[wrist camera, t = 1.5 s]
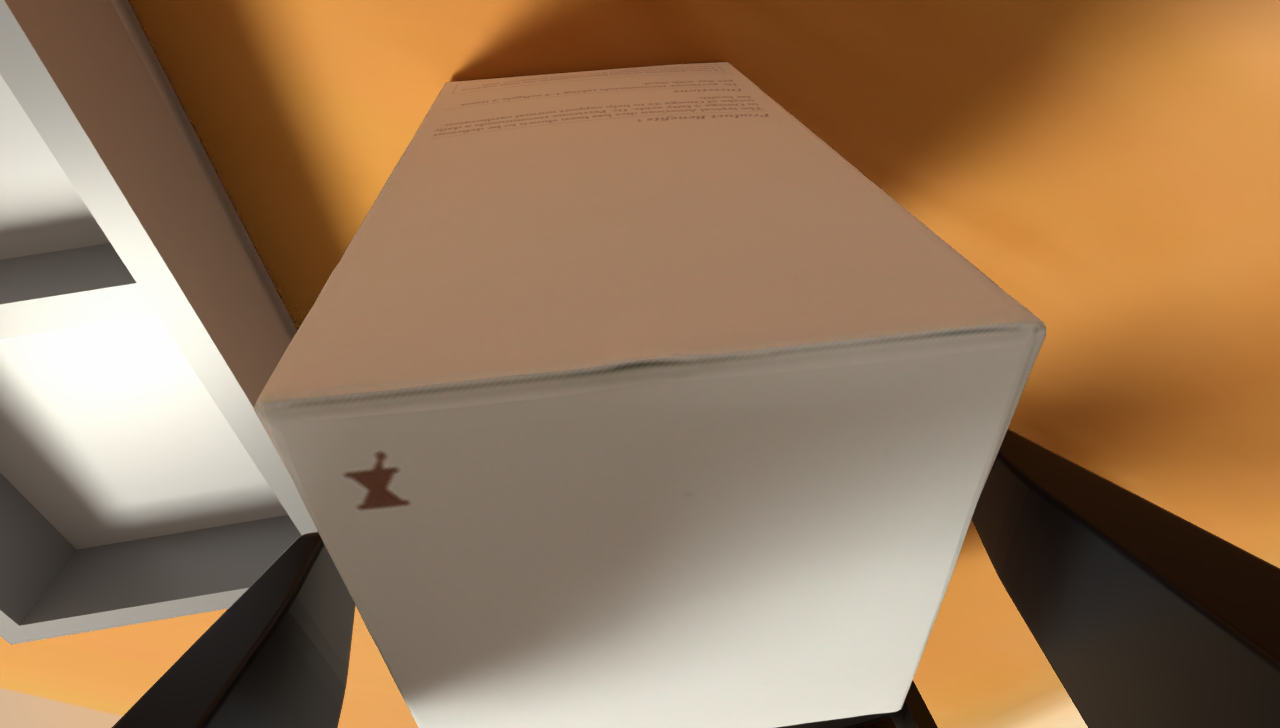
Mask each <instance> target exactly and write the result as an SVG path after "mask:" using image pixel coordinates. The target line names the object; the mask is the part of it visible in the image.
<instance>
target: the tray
mask: <svg viewBox="0 0 1280 728" xmlns="http://www.w3.org/2000/svg"><path fill="white" fill-rule="evenodd" d="M296 333H297V329H296V327H295V325H294V323H293V321H292V319H291V317H290V315H289V313H288V311H287V309H286V307H285V306H284V304H283V302H282V300H281V298H280V296H279V294H278V292H277V290H276V288H275V286H274V284H273V282H272V280H271V278H270V276H269V274H268V272H267V270H266V269H265V267H264V265H263V263H262V261H261V259H260V257H259V255H258V253H257V251H256V249H255V247H254V245H253V243H252V241H251V239H250V237H249V235H248V233H247V231H246V230H245V228H244V226H243V224H242V222H241V220H240V218H239V216H238V214H237V212H236V210H235V208H234V206H233V204H232V202H231V200H230V198H229V196H228V194H227V193H226V191H225V189H224V187H223V185H222V183H221V181H220V179H219V177H218V175H217V173H216V171H215V169H214V167H213V165H212V163H211V161H210V159H209V157H208V155H207V154H206V152H205V150H204V148H203V146H202V144H201V142H200V140H199V138H198V136H197V134H196V132H195V130H194V128H193V126H192V124H191V122H190V120H189V118H188V116H187V115H186V113H185V111H184V109H183V107H182V105H181V103H180V101H179V99H178V97H177V95H176V93H175V91H174V89H173V87H172V85H171V83H170V81H169V79H168V78H167V76H166V74H165V72H164V70H163V68H162V66H161V64H160V62H159V60H158V58H157V56H156V54H155V52H154V50H153V48H152V46H151V44H150V42H149V40H148V39H147V37H146V35H145V33H144V31H143V29H142V27H141V25H140V23H139V21H138V19H137V17H136V15H135V13H134V11H133V9H132V7H131V5H130V3H129V1H128V0H0V636H1V637H2V638H3V639H5V640H6V641H7V642H8V643H10V644H17V643H23V642H29V641H35V640H41V639H47V638H53V637H59V636H65V635H71V634H77V633H83V632H89V631H95V630H101V629H107V628H113V627H119V626H125V625H131V624H137V623H143V622H149V621H155V620H161V619H167V618H173V617H179V616H185V615H191V614H197V613H203V612H209V611H215V610H221V609H227V608H230V607H231V605H232V604H233V603H234V602H235V601H236V600H237V599H238V598H239V597H240V596H241V595H242V594H243V593H244V592H245V591H246V590H247V589H248V588H249V587H250V586H251V585H252V584H253V583H254V582H255V581H256V580H257V579H258V578H259V577H260V576H261V575H262V574H263V573H264V572H265V571H266V570H267V569H268V568H269V567H270V566H271V565H272V564H273V563H274V562H275V561H276V560H277V559H278V558H279V556H280V555H281V554H282V553H283V552H284V551H285V550H286V549H287V548H288V547H289V546H290V545H291V544H292V543H293V542H294V541H295V540H296V539H297V538H299V537H300V536H301V535H304V534H307V533H313V532H318V530H317V528H316V527H315V525H314V523H313V521H312V519H311V517H310V515H309V513H308V511H307V509H306V507H305V505H304V503H303V501H302V499H301V497H300V495H299V492H298V490H297V488H296V486H295V483H294V481H293V480H292V478H291V476H290V474H289V472H288V470H287V469H286V467H285V465H284V463H283V461H282V460H281V458H280V456H279V454H278V452H277V450H276V449H275V447H274V445H273V443H272V441H271V440H270V438H269V436H268V434H267V432H266V431H265V429H264V427H263V425H262V423H261V422H260V420H259V418H258V416H257V414H256V413H255V411H254V406H255V404H256V401H257V399H258V397H259V396H260V394H261V392H262V391H263V389H264V387H265V385H266V384H267V382H268V380H269V378H270V377H271V375H272V373H273V372H274V370H275V368H276V366H277V365H278V363H279V361H280V360H281V358H282V356H283V354H284V353H285V351H286V349H287V348H288V346H289V344H290V343H291V341H292V339H293V338H294V336H295V334H296Z"/></svg>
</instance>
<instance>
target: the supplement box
mask: <svg viewBox="0 0 1280 728" xmlns="http://www.w3.org/2000/svg"><path fill="white" fill-rule="evenodd" d="M1045 336H1046V326H1045V324H1044V322H1042V321H1041V320H1040V319H1039V318H1038V317H1036V316H1035V315H1034V314H1033V313H1032V312H1030V311H1029V310H1028V309H1027V308H1025V307H1024V306H1023V305H1021V304H1020V303H1019V302H1018V301H1016V300H1015V299H1014V298H1012V297H1011V296H1010V295H1009V294H1007V293H1006V292H1005V291H1004V290H1002V289H1001V288H1000V287H999V286H998V285H997V284H995V283H994V282H993V281H992V280H991V279H989V278H988V277H987V276H986V275H985V274H984V273H982V272H981V271H980V270H979V269H978V268H976V267H975V266H974V265H973V264H971V263H970V262H969V261H968V260H967V259H965V258H964V257H963V256H962V255H961V254H959V253H958V252H957V251H956V250H954V249H953V248H952V247H951V246H950V245H948V244H947V243H946V242H945V241H943V240H942V239H941V238H940V237H939V236H937V235H936V234H935V233H934V232H933V231H931V230H930V229H929V228H928V227H926V226H925V225H924V224H923V223H922V222H920V221H919V220H918V219H917V218H916V217H914V216H913V215H912V214H911V213H910V212H908V211H907V210H906V209H905V208H903V207H902V206H901V205H900V204H899V203H897V202H896V201H895V200H894V199H893V198H891V197H890V196H889V195H888V194H887V193H885V192H884V191H883V190H882V189H881V188H879V187H878V186H877V185H876V184H874V183H873V182H872V181H871V180H869V179H868V178H867V177H866V176H865V175H863V174H862V173H861V172H860V171H859V170H858V169H857V168H856V167H854V166H853V165H851V164H850V163H849V162H848V161H847V160H846V159H845V158H843V157H842V156H841V155H840V154H838V153H837V152H836V151H835V150H834V149H832V148H831V147H830V146H829V145H828V144H826V143H825V142H824V141H823V140H822V139H820V138H819V137H818V136H816V135H815V134H814V133H813V132H812V131H811V130H809V129H808V128H807V127H806V126H805V125H803V124H802V123H801V122H800V121H799V120H798V119H796V118H795V117H794V116H793V115H791V114H790V113H789V112H787V111H786V110H785V109H784V108H783V107H782V106H781V105H779V104H778V103H776V102H775V101H774V100H773V99H772V98H771V97H769V96H768V95H767V94H766V93H765V92H763V91H762V90H761V89H760V88H759V87H758V86H756V85H755V84H754V83H753V82H752V81H751V80H749V79H748V78H747V77H745V76H744V75H743V74H742V73H741V72H740V71H738V70H737V69H736V68H735V67H733V66H732V65H731V64H730V63H728V62H717V63H695V64H675V65H661V66H647V67H633V68H619V69H607V70H594V71H581V72H569V73H556V74H544V75H531V76H519V77H506V78H494V79H482V80H470V81H455V82H446V83H445V84H444V86H443V88H442V90H441V91H440V93H439V95H438V96H437V98H436V100H435V101H434V103H433V105H432V106H431V108H430V110H429V112H428V113H427V115H426V117H425V118H424V120H423V122H422V123H421V125H420V127H419V128H418V130H417V132H416V134H415V135H414V137H413V139H412V141H411V142H410V144H409V145H408V147H407V148H406V150H405V152H404V153H403V155H402V157H401V158H400V160H399V161H398V163H397V165H396V166H395V168H394V170H393V172H392V174H391V175H390V177H389V178H388V180H387V182H386V183H385V185H384V187H383V188H382V190H381V192H380V194H379V195H378V197H377V199H376V200H375V202H374V204H373V206H372V207H371V209H370V211H369V212H368V214H367V216H366V217H365V219H364V221H363V222H362V224H361V226H360V227H359V229H358V231H357V232H356V234H355V236H354V237H353V239H352V241H351V242H350V244H349V245H348V247H347V249H346V251H345V253H344V255H343V257H342V259H341V260H340V262H339V263H338V264H337V266H336V267H335V269H334V270H333V272H332V273H331V275H330V277H329V279H328V280H327V282H326V284H325V285H324V287H323V289H322V291H321V292H320V294H319V296H318V298H317V300H316V302H315V303H314V305H313V307H312V308H311V310H310V311H309V313H308V315H307V316H306V318H305V319H304V321H303V323H302V324H301V326H300V328H299V329H298V331H297V333H296V334H295V336H294V338H293V339H292V341H291V343H290V344H289V346H288V348H287V349H286V351H285V353H284V354H283V356H282V358H281V360H280V361H279V363H278V365H277V366H276V368H275V370H274V372H273V373H272V375H271V377H270V378H269V380H268V382H267V384H266V385H265V387H264V389H263V391H262V392H261V394H260V396H259V397H258V399H257V401H256V404H255V406H254V411H255V413H256V414H257V416H258V418H259V420H260V422H261V423H262V425H263V427H264V429H265V431H266V432H267V434H268V436H269V438H270V440H271V441H272V443H273V445H274V447H275V449H276V450H277V452H278V454H279V456H280V458H281V460H282V461H283V463H284V465H285V467H286V469H287V470H288V472H289V474H290V476H291V478H292V480H293V481H294V483H295V486H296V488H297V490H298V492H299V495H300V497H301V499H302V501H303V503H304V505H305V507H306V509H307V511H308V513H309V515H310V517H311V519H312V521H313V523H314V525H315V527H316V528H317V530H318V532H319V534H320V536H321V538H322V540H323V542H324V544H325V546H326V548H327V550H328V552H329V554H330V556H331V558H332V560H333V562H334V564H335V566H336V568H337V570H338V572H339V574H340V576H341V577H342V579H343V581H344V583H345V585H346V587H347V589H348V591H349V593H350V595H351V597H352V599H353V601H354V602H355V604H356V606H357V608H358V610H359V612H360V615H361V617H362V619H363V621H364V623H365V625H366V627H367V629H368V631H369V633H370V634H371V636H372V638H373V640H374V642H375V644H376V645H377V647H378V649H379V651H380V653H381V655H382V657H383V659H384V661H385V663H386V665H387V667H388V669H389V671H390V673H391V675H392V677H393V679H394V681H395V683H396V685H397V687H398V689H399V691H400V693H401V694H402V696H403V698H404V700H405V702H406V704H407V706H408V708H409V710H410V712H411V714H412V715H413V717H414V719H415V721H416V723H417V725H418V727H419V728H776V727H783V726H790V725H797V724H804V723H811V722H819V721H827V720H834V719H842V718H849V717H856V716H863V715H870V714H880V713H890V712H896V711H898V710H900V709H901V708H902V706H903V703H904V700H905V698H906V695H907V693H908V690H909V688H910V685H911V683H912V680H913V678H914V675H915V672H916V670H917V667H918V665H919V662H920V659H921V657H922V654H923V651H924V648H925V646H926V643H927V640H928V637H929V634H930V632H931V629H932V627H933V624H934V621H935V619H936V616H937V614H938V611H939V608H940V606H941V603H942V600H943V598H944V595H945V592H946V590H947V587H948V584H949V581H950V579H951V576H952V573H953V570H954V568H955V565H956V562H957V559H958V556H959V553H960V550H961V547H962V544H963V542H964V539H965V536H966V533H967V530H968V527H969V524H970V522H971V519H972V516H973V513H974V510H975V508H976V505H977V502H978V500H979V497H980V495H981V492H982V490H983V488H984V485H985V483H986V480H987V478H988V476H989V473H990V471H991V468H992V466H993V464H994V461H995V459H996V456H997V454H998V452H999V449H1000V447H1001V444H1002V442H1003V439H1004V437H1005V434H1006V432H1007V430H1008V427H1009V425H1010V422H1011V420H1012V417H1013V415H1014V412H1015V410H1016V407H1017V405H1018V402H1019V400H1020V397H1021V394H1022V392H1023V389H1024V387H1025V384H1026V382H1027V379H1028V377H1029V374H1030V371H1031V369H1032V367H1033V364H1034V362H1035V360H1036V357H1037V355H1038V353H1039V350H1040V348H1041V346H1042V344H1043V341H1044V339H1045Z"/></svg>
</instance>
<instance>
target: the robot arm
mask: <svg viewBox="0 0 1280 728" xmlns="http://www.w3.org/2000/svg"><path fill="white" fill-rule="evenodd" d="M972 521H973V523H974V525H975V527H976V530H977V532H978V534H979V536H980V538H981V540H982V543H983V545H984V547H985V549H986V551H987V554H988V556H989V558H990V560H991V562H992V564H993V566H994V568H995V570H996V572H997V574H998V576H999V578H1000V580H1001V582H1002V583H1003V585H1004V587H1005V589H1006V591H1007V592H1008V594H1009V596H1010V597H1011V599H1012V601H1013V602H1014V604H1015V606H1016V607H1017V609H1018V611H1019V612H1020V614H1021V616H1022V617H1023V619H1024V621H1025V622H1026V624H1027V626H1028V627H1029V629H1030V631H1031V632H1032V634H1033V636H1034V638H1035V639H1036V641H1037V643H1038V644H1039V646H1040V648H1041V649H1042V651H1043V653H1044V654H1045V656H1046V658H1047V659H1048V661H1049V663H1050V664H1051V666H1052V668H1053V669H1054V671H1055V673H1056V674H1057V676H1058V678H1059V679H1060V681H1061V683H1062V684H1063V686H1064V688H1065V689H1066V691H1067V693H1068V694H1069V696H1070V698H1071V699H1072V701H1073V703H1074V704H1075V706H1076V708H1077V709H1078V711H1079V713H1080V715H1081V716H1082V718H1083V720H1084V721H1085V723H1086V725H1087V726H1088V728H1280V568H1278V567H1276V566H1274V565H1272V564H1270V563H1268V562H1266V561H1264V560H1262V559H1260V558H1258V557H1256V556H1254V555H1252V554H1250V553H1249V552H1247V551H1245V550H1243V549H1241V548H1239V547H1237V546H1235V545H1233V544H1231V543H1229V542H1227V541H1225V540H1223V539H1221V538H1219V537H1217V536H1216V535H1214V534H1212V533H1210V532H1208V531H1206V530H1204V529H1202V528H1200V527H1198V526H1196V525H1194V524H1192V523H1190V522H1188V521H1186V520H1184V519H1182V518H1181V517H1179V516H1177V515H1175V514H1173V513H1171V512H1169V511H1167V510H1165V509H1163V508H1161V507H1159V506H1157V505H1155V504H1153V503H1151V502H1149V501H1147V500H1146V499H1144V498H1142V497H1140V496H1138V495H1136V494H1134V493H1132V492H1130V491H1128V490H1126V489H1124V488H1122V487H1120V486H1118V485H1116V484H1114V483H1113V482H1111V481H1109V480H1107V479H1105V478H1103V477H1101V476H1099V475H1097V474H1095V473H1093V472H1091V471H1089V470H1087V469H1085V468H1083V467H1081V466H1079V465H1078V464H1076V463H1074V462H1072V461H1070V460H1068V459H1066V458H1064V457H1062V456H1060V455H1058V454H1056V453H1054V452H1052V451H1050V450H1048V449H1046V448H1044V447H1043V446H1041V445H1039V444H1037V443H1035V442H1033V441H1031V440H1029V439H1027V438H1025V437H1023V436H1021V435H1019V434H1017V433H1015V432H1013V431H1011V430H1010V429H1008V430H1007V432H1006V434H1005V437H1004V439H1003V442H1002V444H1001V447H1000V449H999V452H998V454H997V456H996V459H995V461H994V464H993V466H992V468H991V471H990V473H989V476H988V478H987V480H986V483H985V485H984V488H983V490H982V492H981V495H980V497H979V500H978V502H977V505H976V508H975V510H974V513H973V516H972ZM354 613H355V602H354V601H353V599H352V597H351V595H350V593H349V591H348V589H347V587H346V585H345V583H344V581H343V579H342V577H341V576H340V574H339V572H338V570H337V568H336V566H335V564H334V562H333V560H332V558H331V556H330V554H329V552H328V550H327V548H326V546H325V544H324V542H323V540H322V538H321V536H320V534H319V532H313V533H307V534H304V535H301V536H300V537H299V538H297V539H296V540H295V541H294V542H293V543H292V544H291V545H290V546H289V547H288V548H287V549H286V550H285V551H284V552H283V553H282V554H281V555H280V556H279V558H278V559H277V560H276V561H275V562H274V563H273V564H272V565H271V566H270V567H269V568H268V569H267V570H266V571H265V572H264V573H263V574H262V575H261V576H260V577H259V578H258V579H257V580H256V581H255V582H254V583H253V584H252V585H251V586H250V587H249V588H248V589H247V590H246V591H245V592H244V593H243V594H242V595H241V596H240V597H239V598H238V599H237V600H236V601H235V602H234V603H233V604H232V605H231V607H230V608H229V609H228V610H227V611H226V612H225V613H224V614H223V615H222V616H221V617H220V618H219V619H218V620H217V621H216V622H215V623H214V624H213V625H212V626H211V627H210V628H209V629H208V630H207V631H206V632H205V633H204V634H203V635H202V636H201V637H200V638H199V639H198V640H197V641H196V642H195V643H194V644H193V645H192V646H191V647H190V648H189V649H188V650H187V651H186V652H185V653H184V654H183V656H182V657H181V658H180V659H179V660H178V661H177V662H176V663H175V664H174V665H173V666H172V667H171V668H170V669H169V670H168V671H167V672H166V673H165V674H164V675H163V676H162V677H161V678H160V679H159V680H158V681H157V682H156V683H155V684H154V685H153V686H152V687H151V688H150V689H149V690H148V691H147V692H146V693H145V694H144V695H143V696H142V697H141V698H140V699H139V700H138V701H137V702H136V703H135V705H134V706H133V707H132V708H131V709H130V710H129V711H128V712H127V713H126V714H125V715H124V716H123V717H122V718H121V719H120V720H119V721H118V722H117V723H116V724H115V725H114V726H113V727H112V728H337V727H338V722H339V718H340V713H341V709H342V704H343V699H344V694H345V689H346V682H347V675H348V668H349V659H350V649H351V640H352V631H353V622H354ZM776 728H938V727H937V725H936V723H935V721H934V719H933V718H932V716H931V714H930V712H929V710H928V708H927V706H926V704H925V702H924V701H923V699H922V697H921V695H920V693H919V691H918V689H917V687H916V685H915V683H914V682H913V680H912V683H911V685H910V688H909V690H908V693H907V695H906V698H905V700H904V703H903V706H902V708H901V709H900V710H898V711H896V712H890V713H880V714H870V715H863V716H856V717H849V718H842V719H834V720H827V721H819V722H811V723H804V724H797V725H790V726H783V727H776Z"/></svg>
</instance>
